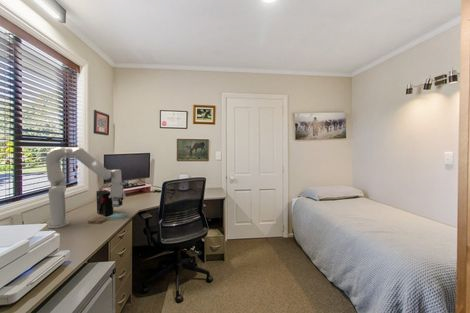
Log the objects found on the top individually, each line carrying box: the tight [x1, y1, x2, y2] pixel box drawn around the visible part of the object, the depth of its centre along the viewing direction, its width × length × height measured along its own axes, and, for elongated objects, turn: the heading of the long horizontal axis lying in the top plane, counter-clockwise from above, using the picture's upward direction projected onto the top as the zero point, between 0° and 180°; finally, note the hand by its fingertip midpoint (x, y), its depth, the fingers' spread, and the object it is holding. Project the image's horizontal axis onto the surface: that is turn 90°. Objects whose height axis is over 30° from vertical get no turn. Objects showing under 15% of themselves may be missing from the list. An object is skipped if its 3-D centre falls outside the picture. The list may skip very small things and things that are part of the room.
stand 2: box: [107, 212, 127, 220], centre depth 197 cm, size 10×10×2 cm
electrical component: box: [96, 189, 116, 217], centre depth 206 cm, size 18×10×20 cm, turn 47°
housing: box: [112, 198, 124, 208], centre depth 197 cm, size 7×5×7 cm
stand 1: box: [87, 216, 109, 224], centre depth 187 cm, size 10×10×2 cm
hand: (117, 205), depth 197 cm, fingers closed on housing, 5 cm apart
